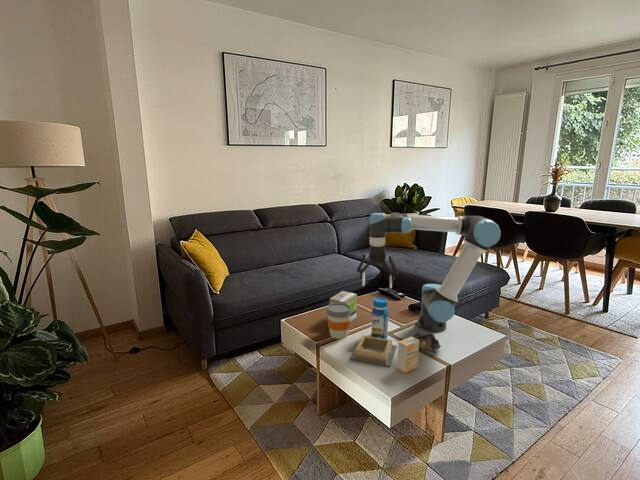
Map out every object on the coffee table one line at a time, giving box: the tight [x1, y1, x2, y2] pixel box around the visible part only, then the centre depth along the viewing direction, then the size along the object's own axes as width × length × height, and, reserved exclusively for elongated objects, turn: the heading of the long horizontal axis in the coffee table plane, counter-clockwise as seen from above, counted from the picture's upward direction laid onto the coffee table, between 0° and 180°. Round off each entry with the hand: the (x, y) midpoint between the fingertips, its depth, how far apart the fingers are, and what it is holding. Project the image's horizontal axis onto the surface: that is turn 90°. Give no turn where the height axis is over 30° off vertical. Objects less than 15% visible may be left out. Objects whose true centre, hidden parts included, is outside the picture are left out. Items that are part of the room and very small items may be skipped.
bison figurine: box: [411, 331, 442, 351], centre depth 170 cm, size 12×7×10 cm
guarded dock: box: [349, 335, 398, 368], centre depth 165 cm, size 18×18×4 cm
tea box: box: [329, 290, 358, 323], centre depth 199 cm, size 15×10×15 cm, turn 148°
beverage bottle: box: [370, 297, 389, 339], centre depth 179 cm, size 8×8×20 cm
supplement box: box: [396, 336, 420, 374], centre depth 152 cm, size 8×5×13 cm, turn 126°
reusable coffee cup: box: [326, 303, 352, 340], centre depth 182 cm, size 13×13×15 cm
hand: (377, 286), depth 178 cm, fingers open, 13 cm apart
